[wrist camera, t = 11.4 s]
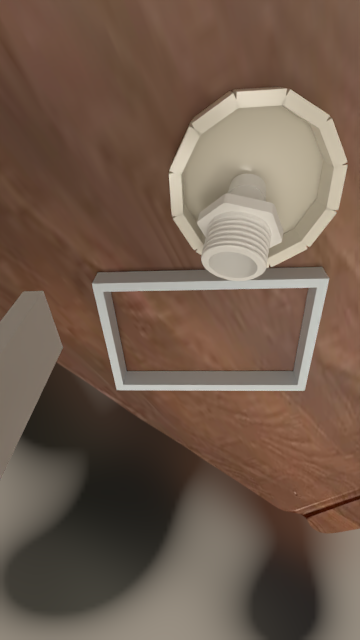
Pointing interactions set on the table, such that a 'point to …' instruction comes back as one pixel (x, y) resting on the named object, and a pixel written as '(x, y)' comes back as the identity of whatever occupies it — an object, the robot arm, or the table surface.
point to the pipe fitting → (240, 230)
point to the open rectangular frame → (207, 281)
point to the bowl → (261, 163)
